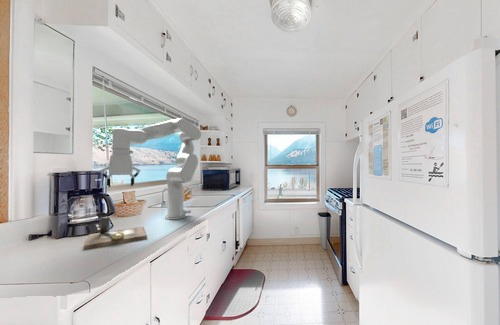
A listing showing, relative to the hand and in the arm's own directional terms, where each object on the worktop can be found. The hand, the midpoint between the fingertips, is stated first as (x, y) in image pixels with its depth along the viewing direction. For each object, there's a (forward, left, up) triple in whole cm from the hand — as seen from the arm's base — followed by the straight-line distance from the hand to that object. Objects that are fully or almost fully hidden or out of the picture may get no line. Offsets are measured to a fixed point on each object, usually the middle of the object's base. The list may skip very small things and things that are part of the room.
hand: (120, 186), depth 103 cm
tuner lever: (+3, +13, -21) cm, 24 cm away
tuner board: (+1, +12, -22) cm, 25 cm away
